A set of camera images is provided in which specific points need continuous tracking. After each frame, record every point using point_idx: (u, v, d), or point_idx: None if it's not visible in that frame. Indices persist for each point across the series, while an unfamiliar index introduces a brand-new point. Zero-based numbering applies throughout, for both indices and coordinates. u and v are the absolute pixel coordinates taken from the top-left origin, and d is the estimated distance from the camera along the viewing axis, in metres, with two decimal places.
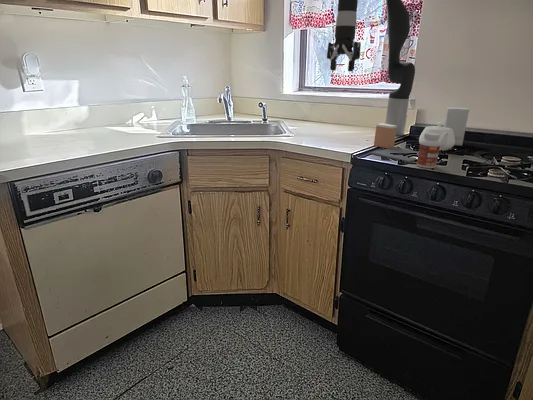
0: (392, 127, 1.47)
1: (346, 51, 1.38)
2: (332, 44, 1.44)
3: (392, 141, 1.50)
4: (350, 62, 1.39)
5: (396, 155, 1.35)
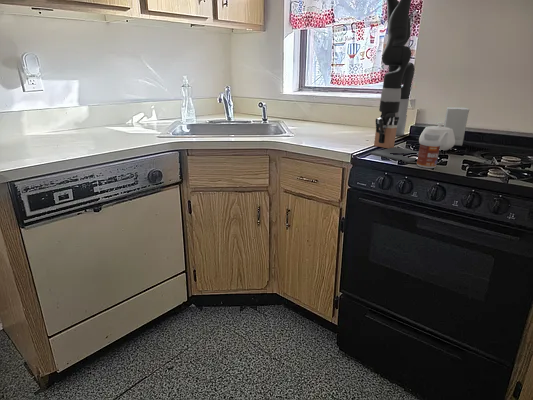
0: (392, 127, 1.47)
1: (393, 124, 1.50)
2: None
3: (392, 141, 1.50)
4: None
5: (396, 155, 1.35)
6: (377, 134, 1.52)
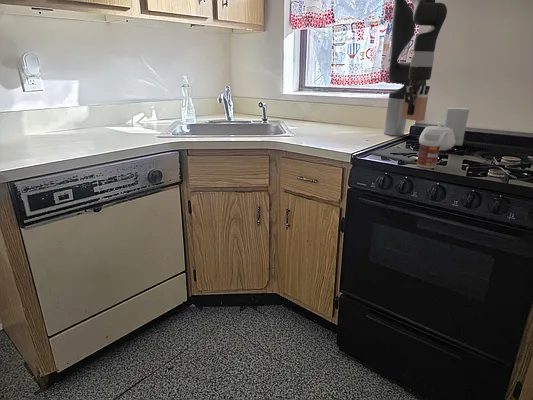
0: (423, 96, 1.31)
1: (423, 93, 1.34)
2: None
3: (423, 112, 1.34)
4: None
5: (396, 155, 1.35)
6: (405, 105, 1.36)
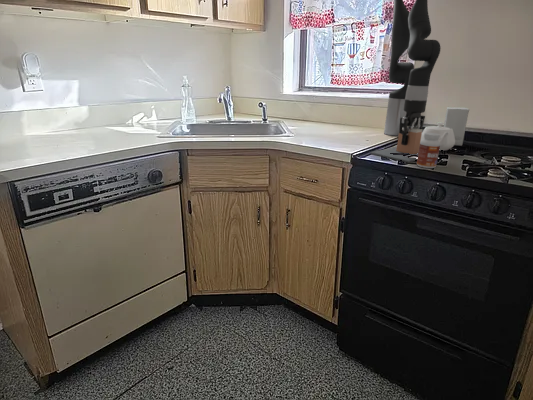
0: (417, 131, 1.35)
1: (419, 124, 1.38)
2: None
3: (417, 146, 1.38)
4: None
5: (396, 155, 1.35)
6: (400, 139, 1.40)
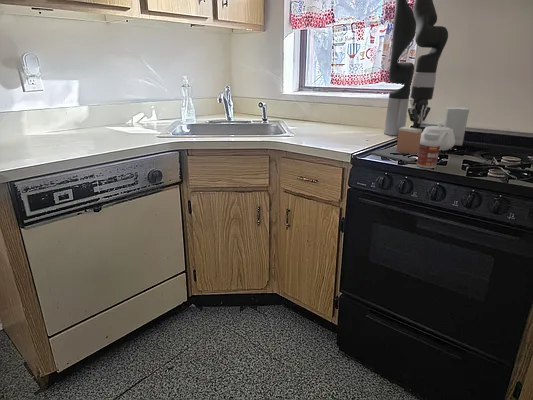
0: (417, 131, 1.35)
1: (424, 113, 1.38)
2: (414, 108, 1.34)
3: (417, 146, 1.38)
4: (420, 124, 1.39)
5: (396, 155, 1.35)
6: (400, 139, 1.40)
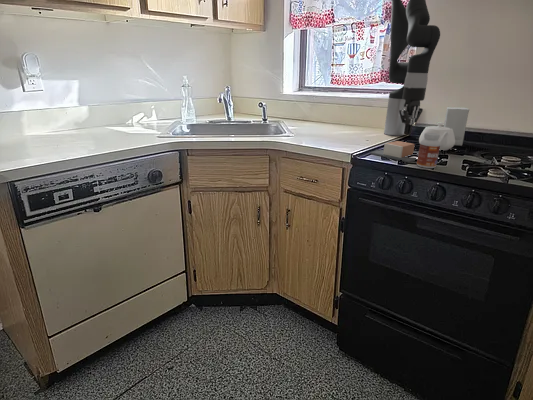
0: (401, 155, 1.32)
1: (416, 114, 1.34)
2: (405, 110, 1.31)
3: (410, 149, 1.35)
4: None
5: None
6: None
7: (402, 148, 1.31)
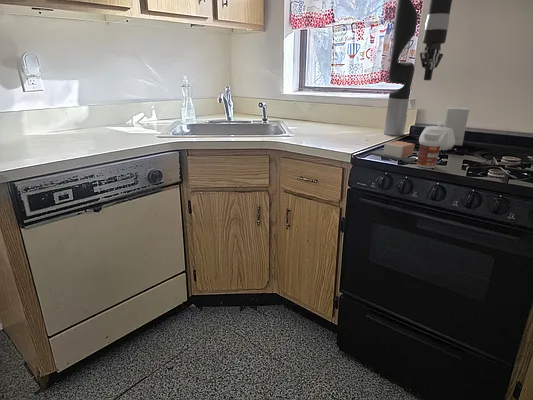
0: (401, 155, 1.32)
1: (437, 58, 1.32)
2: (426, 52, 1.29)
3: (410, 149, 1.35)
4: (432, 71, 1.34)
5: None
6: None
7: (402, 148, 1.31)
